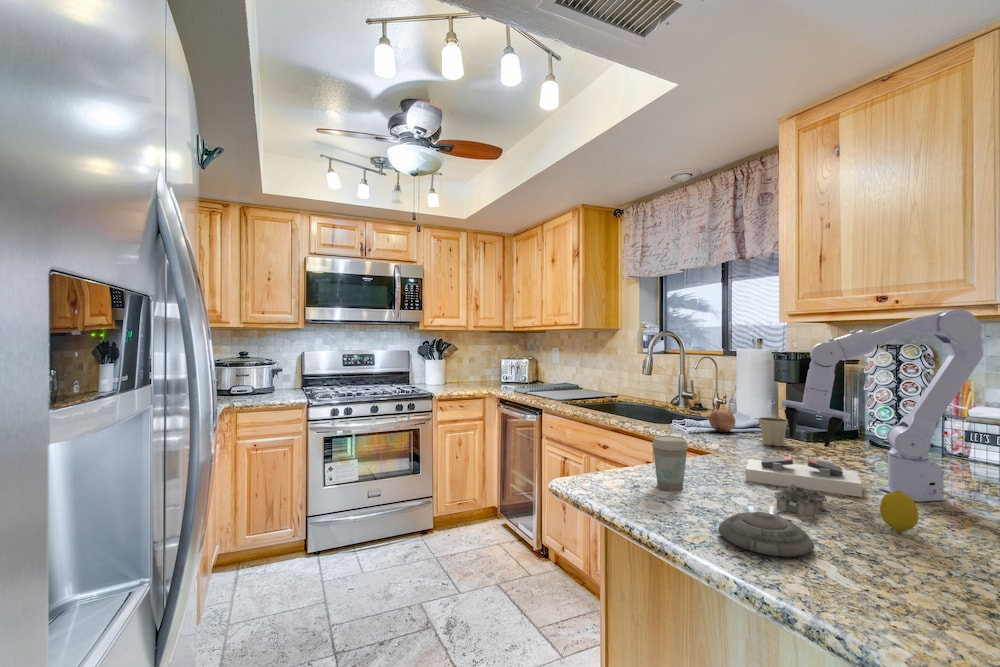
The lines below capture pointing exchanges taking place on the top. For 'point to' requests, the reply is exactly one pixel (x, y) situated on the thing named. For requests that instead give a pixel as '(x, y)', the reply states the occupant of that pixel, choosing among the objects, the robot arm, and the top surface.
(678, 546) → the top surface
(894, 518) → the lemon
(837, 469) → the breaker near
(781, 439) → the flower pot
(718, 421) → the onion
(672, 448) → the coffee cup
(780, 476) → the breaker panel
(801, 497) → the grey stone ruin model
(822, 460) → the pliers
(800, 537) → the flying saucer
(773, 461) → the breaker far
